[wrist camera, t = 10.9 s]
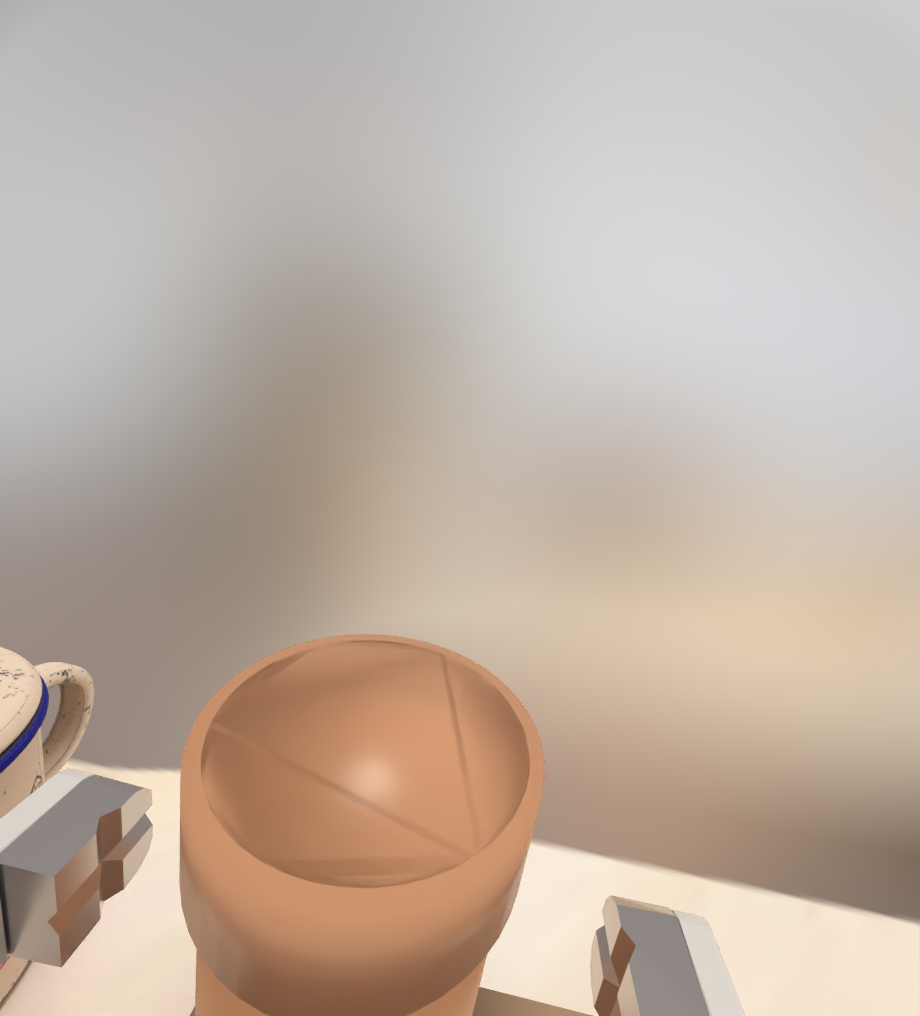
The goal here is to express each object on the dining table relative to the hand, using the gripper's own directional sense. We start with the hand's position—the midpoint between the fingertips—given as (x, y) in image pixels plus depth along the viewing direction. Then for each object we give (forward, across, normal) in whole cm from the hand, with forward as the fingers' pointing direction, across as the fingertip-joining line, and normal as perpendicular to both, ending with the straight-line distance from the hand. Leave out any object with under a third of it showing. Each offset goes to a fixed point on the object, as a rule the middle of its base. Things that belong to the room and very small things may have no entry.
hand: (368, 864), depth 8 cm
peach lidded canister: (-1, 0, +7) cm, 7 cm away
